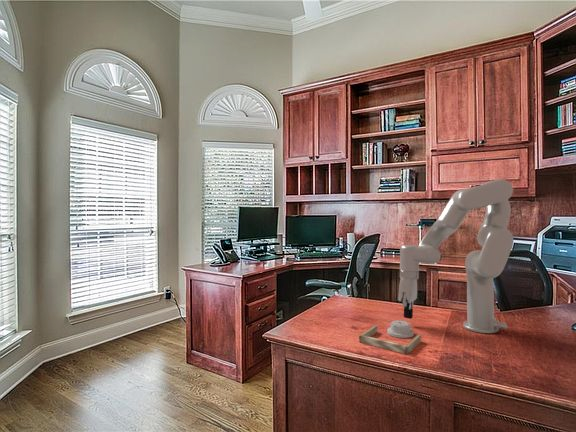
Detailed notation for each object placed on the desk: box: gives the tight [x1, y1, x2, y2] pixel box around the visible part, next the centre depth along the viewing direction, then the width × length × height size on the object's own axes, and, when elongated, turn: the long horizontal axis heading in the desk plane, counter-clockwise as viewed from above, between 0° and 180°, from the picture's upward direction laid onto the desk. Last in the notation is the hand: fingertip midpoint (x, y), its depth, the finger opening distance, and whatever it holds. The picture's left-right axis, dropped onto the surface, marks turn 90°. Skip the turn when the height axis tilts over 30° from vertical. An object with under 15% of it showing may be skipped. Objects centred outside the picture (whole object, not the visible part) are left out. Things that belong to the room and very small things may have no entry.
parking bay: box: [358, 324, 422, 355], centre depth 126 cm, size 18×14×2 cm
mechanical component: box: [386, 320, 415, 339], centre depth 134 cm, size 10×4×10 cm
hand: (408, 317), depth 143 cm, fingers closed
